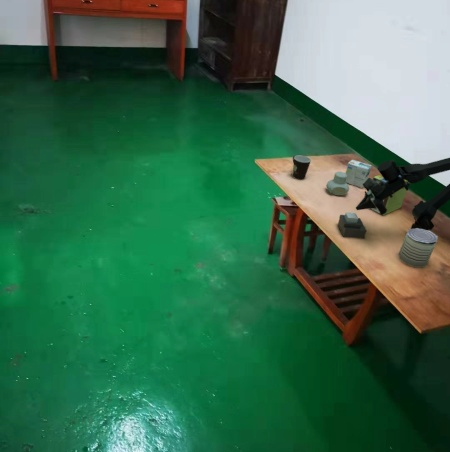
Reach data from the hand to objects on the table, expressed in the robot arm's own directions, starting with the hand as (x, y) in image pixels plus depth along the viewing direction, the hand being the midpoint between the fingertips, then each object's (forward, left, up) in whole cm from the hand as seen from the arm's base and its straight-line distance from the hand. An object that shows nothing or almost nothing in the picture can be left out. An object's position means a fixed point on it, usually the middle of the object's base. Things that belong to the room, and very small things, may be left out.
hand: (356, 209), depth 190 cm
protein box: (-9, -32, -11) cm, 35 cm away
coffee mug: (+36, -40, -11) cm, 55 cm away
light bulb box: (+8, -49, -11) cm, 51 cm away
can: (-27, +6, -11) cm, 30 cm away
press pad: (+1, +1, -6) cm, 6 cm away
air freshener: (+14, -33, -11) cm, 37 cm away
